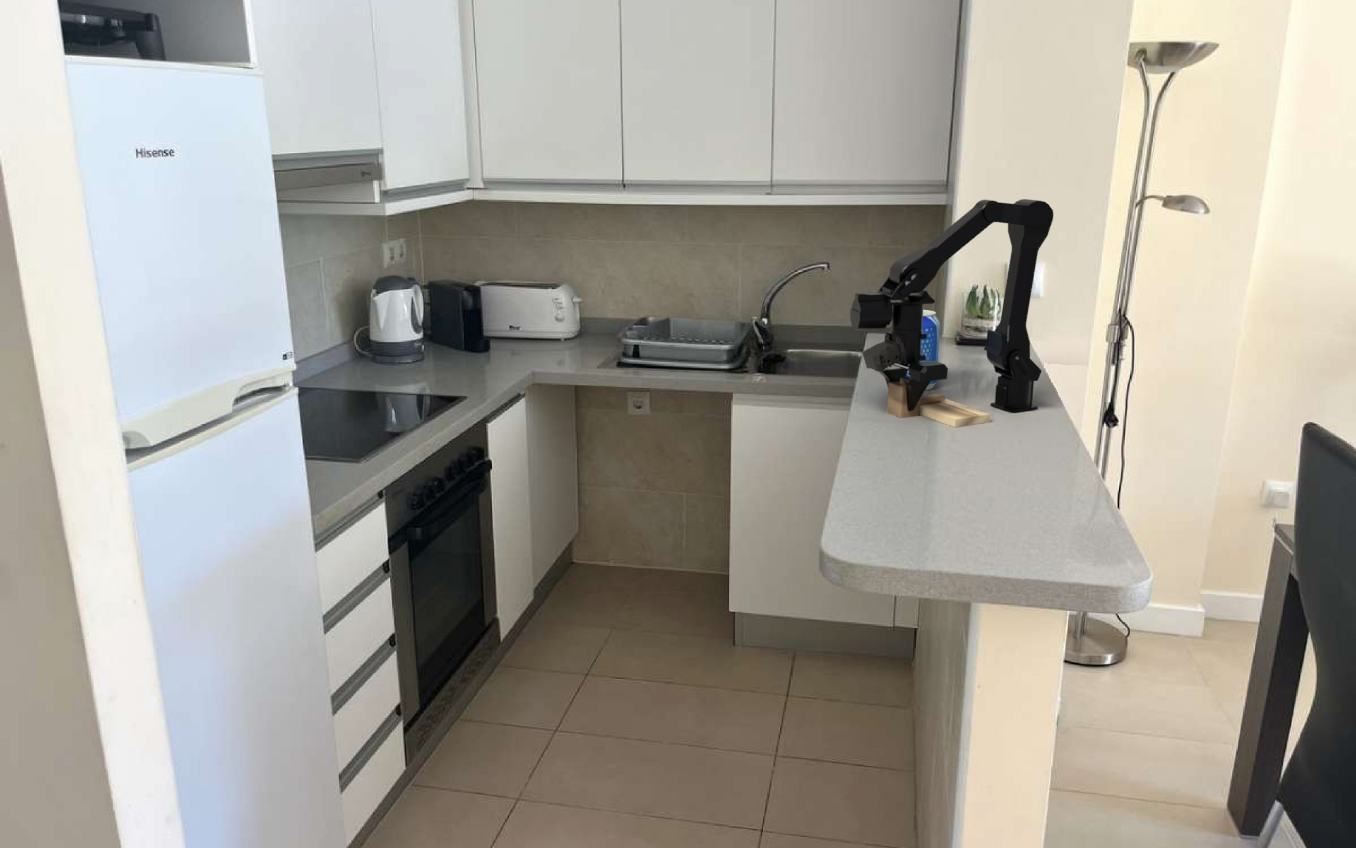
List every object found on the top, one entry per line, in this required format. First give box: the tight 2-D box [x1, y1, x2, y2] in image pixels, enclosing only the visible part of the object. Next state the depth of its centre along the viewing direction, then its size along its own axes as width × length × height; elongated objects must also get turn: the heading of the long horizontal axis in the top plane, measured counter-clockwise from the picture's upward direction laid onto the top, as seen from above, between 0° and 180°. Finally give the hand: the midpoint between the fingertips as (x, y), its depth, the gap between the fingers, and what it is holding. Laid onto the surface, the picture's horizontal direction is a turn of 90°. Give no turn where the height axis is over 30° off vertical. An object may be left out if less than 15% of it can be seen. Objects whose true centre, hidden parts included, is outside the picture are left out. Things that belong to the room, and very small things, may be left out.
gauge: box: [886, 378, 946, 419], centre depth 193 cm, size 11×4×7 cm, turn 114°
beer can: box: [906, 309, 941, 391], centre depth 211 cm, size 8×8×16 cm
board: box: [918, 398, 991, 428], centre depth 191 cm, size 8×16×2 cm, turn 24°
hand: (903, 407), depth 192 cm, fingers closed on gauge, 4 cm apart
